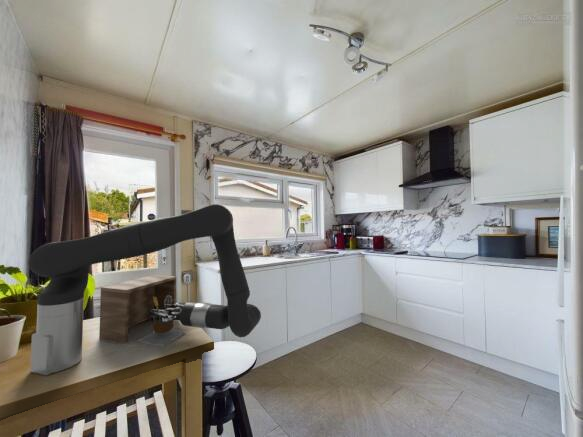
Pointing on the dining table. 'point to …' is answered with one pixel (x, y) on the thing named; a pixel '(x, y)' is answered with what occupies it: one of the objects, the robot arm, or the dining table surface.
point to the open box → (132, 304)
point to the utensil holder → (160, 326)
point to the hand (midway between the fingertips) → (157, 309)
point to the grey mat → (161, 338)
